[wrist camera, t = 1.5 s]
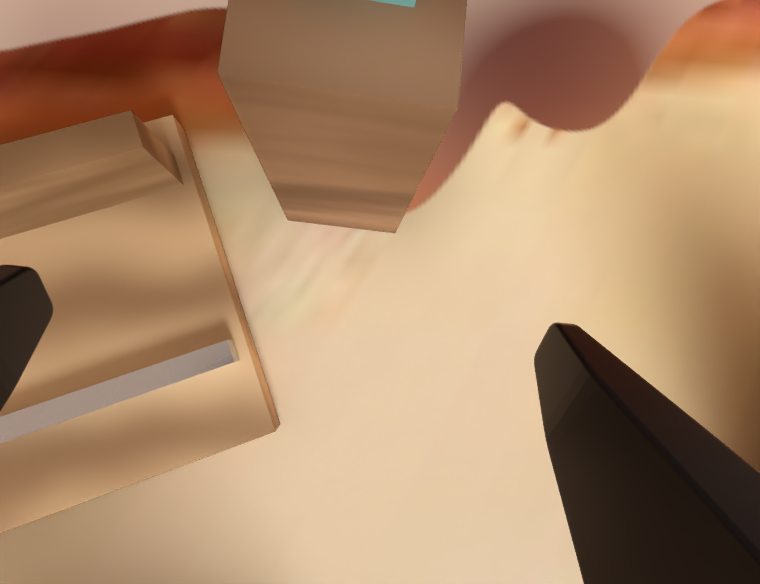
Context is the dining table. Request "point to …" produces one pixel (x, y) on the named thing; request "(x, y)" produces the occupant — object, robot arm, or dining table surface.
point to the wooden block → (344, 99)
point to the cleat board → (120, 317)
